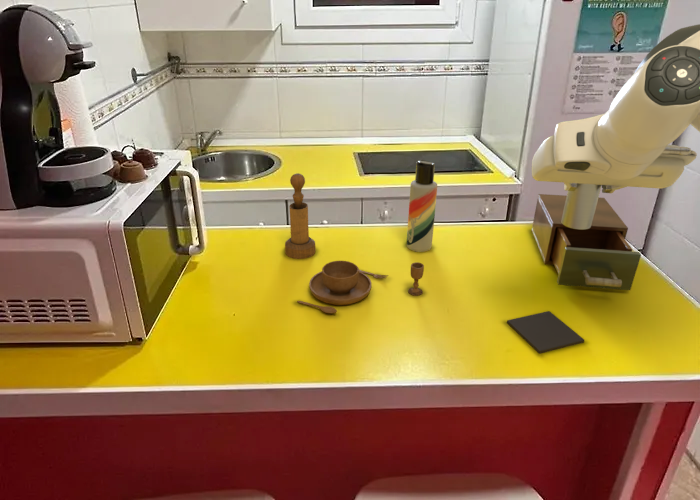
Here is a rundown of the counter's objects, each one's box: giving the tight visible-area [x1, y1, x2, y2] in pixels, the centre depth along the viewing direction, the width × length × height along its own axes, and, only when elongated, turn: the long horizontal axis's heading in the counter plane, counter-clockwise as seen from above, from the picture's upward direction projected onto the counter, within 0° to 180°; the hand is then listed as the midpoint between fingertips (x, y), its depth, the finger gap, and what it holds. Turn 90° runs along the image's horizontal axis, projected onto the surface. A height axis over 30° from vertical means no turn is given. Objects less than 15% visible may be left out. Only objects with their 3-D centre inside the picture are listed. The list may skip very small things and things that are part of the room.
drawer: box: [550, 227, 642, 291], centre depth 103 cm, size 20×13×8 cm
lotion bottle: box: [406, 159, 438, 253], centre depth 112 cm, size 6×6×20 cm
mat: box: [506, 310, 585, 355], centre depth 89 cm, size 9×9×1 cm
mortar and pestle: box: [284, 172, 317, 260], centre depth 110 cm, size 7×6×18 cm
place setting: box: [296, 260, 425, 314], centre depth 97 cm, size 18×20×6 cm
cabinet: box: [531, 193, 629, 266], centre depth 114 cm, size 17×15×10 cm
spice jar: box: [561, 183, 602, 230], centre depth 86 cm, size 5×5×11 cm
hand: (587, 187), depth 84 cm, fingers closed on spice jar, 4 cm apart
